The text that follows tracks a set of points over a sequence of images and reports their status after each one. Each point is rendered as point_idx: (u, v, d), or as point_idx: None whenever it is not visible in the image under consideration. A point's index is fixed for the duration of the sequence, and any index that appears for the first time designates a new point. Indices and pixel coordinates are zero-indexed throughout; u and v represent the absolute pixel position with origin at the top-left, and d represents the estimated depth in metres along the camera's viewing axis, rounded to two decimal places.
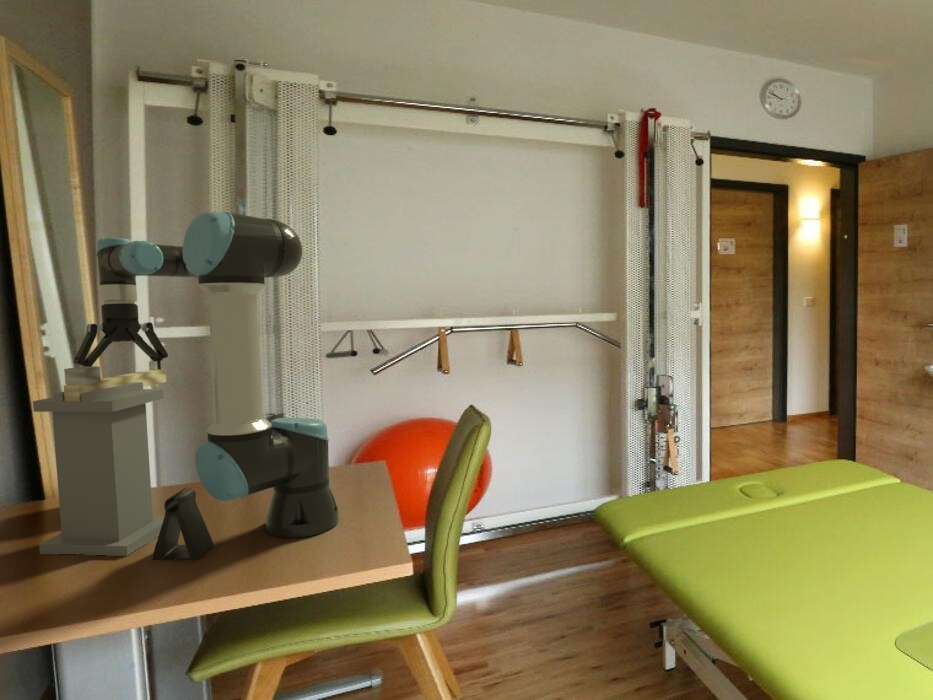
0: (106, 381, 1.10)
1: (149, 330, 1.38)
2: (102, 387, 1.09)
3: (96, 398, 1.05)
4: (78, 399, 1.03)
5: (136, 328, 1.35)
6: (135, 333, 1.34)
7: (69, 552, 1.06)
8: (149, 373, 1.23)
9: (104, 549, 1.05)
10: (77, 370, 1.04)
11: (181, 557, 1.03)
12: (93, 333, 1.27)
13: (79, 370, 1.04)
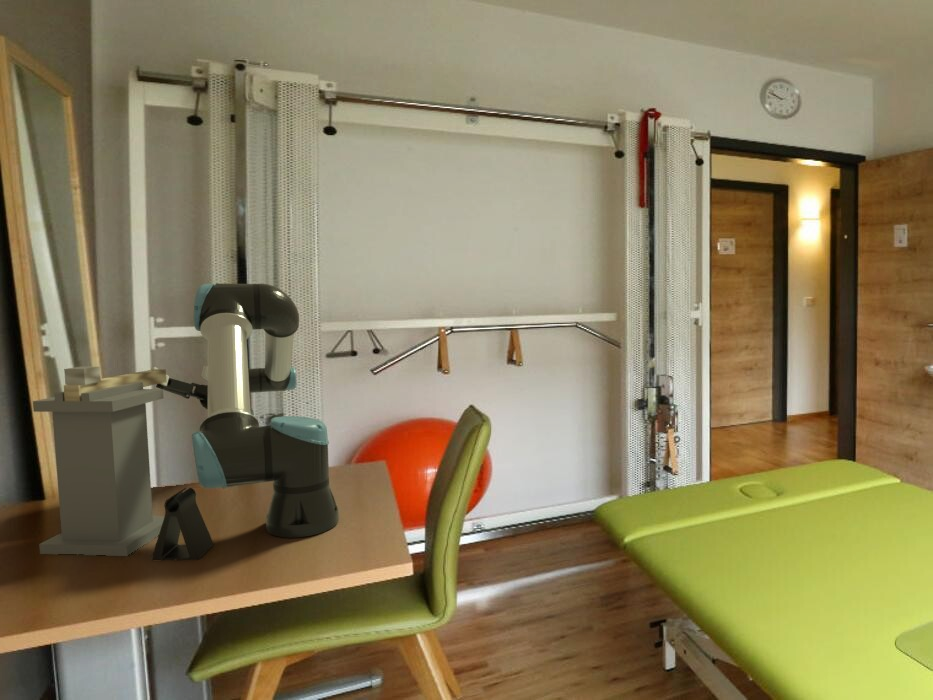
0: (106, 381, 1.10)
1: None
2: (102, 387, 1.09)
3: (96, 398, 1.05)
4: (78, 399, 1.03)
5: None
6: None
7: (69, 552, 1.06)
8: (149, 373, 1.23)
9: (104, 549, 1.05)
10: (77, 370, 1.04)
11: (181, 557, 1.03)
12: None
13: (79, 370, 1.04)
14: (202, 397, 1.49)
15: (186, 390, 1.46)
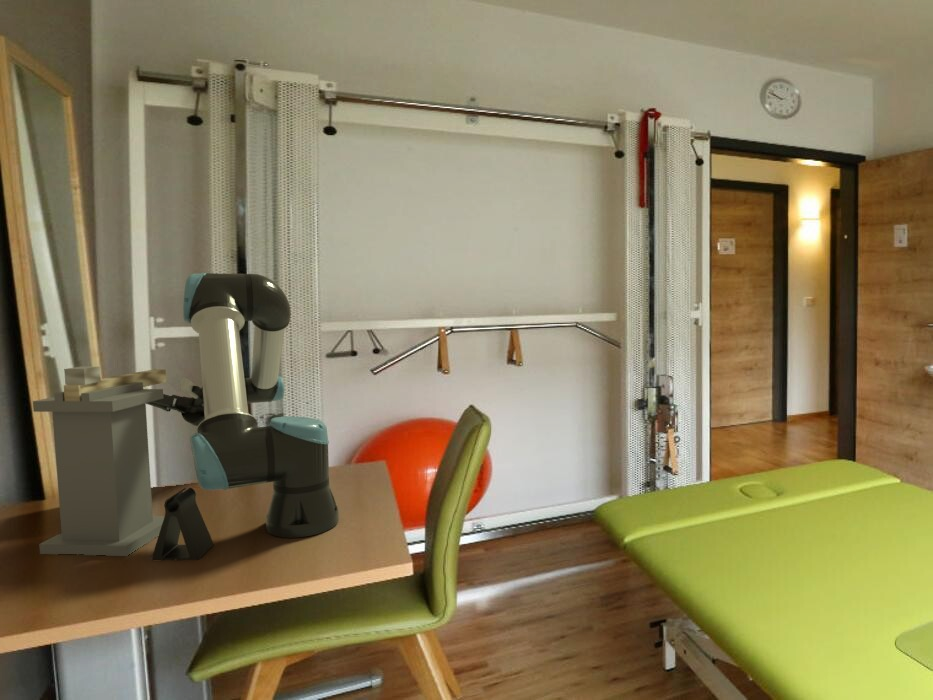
0: (106, 381, 1.10)
1: None
2: (102, 387, 1.09)
3: (96, 398, 1.05)
4: (78, 399, 1.03)
5: None
6: None
7: (69, 552, 1.06)
8: (149, 373, 1.23)
9: (104, 549, 1.05)
10: (77, 370, 1.04)
11: (181, 557, 1.03)
12: None
13: (79, 370, 1.04)
14: (183, 410, 1.40)
15: (166, 403, 1.38)
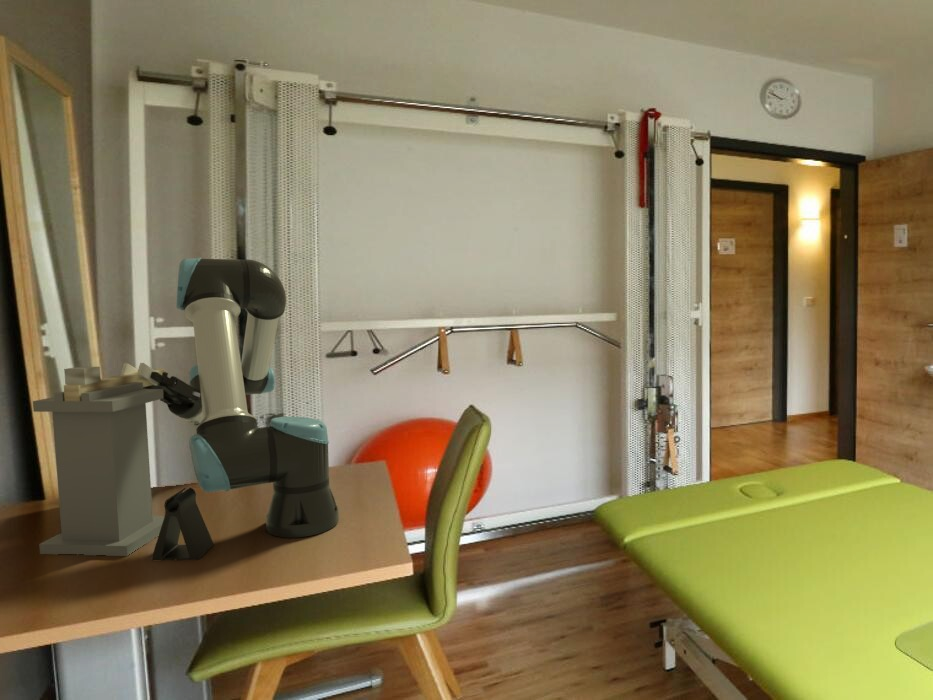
0: (106, 381, 1.10)
1: None
2: (102, 387, 1.09)
3: (96, 398, 1.05)
4: (78, 399, 1.03)
5: None
6: None
7: (69, 552, 1.06)
8: None
9: (104, 549, 1.05)
10: (77, 370, 1.04)
11: (181, 557, 1.03)
12: None
13: (79, 370, 1.04)
14: (171, 402, 1.34)
15: None
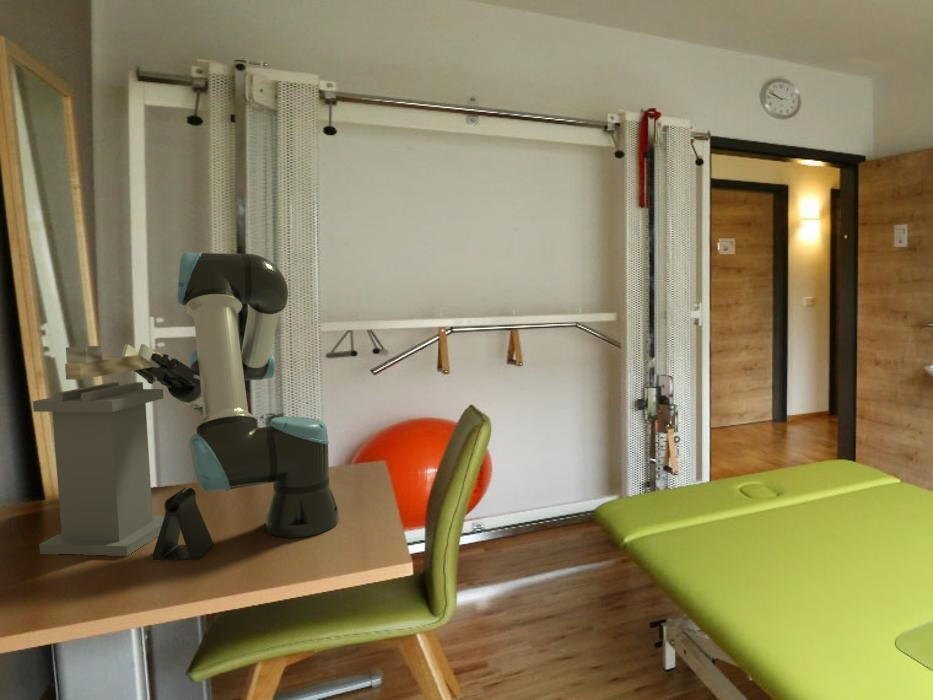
0: (107, 361, 1.10)
1: None
2: (103, 366, 1.09)
3: (96, 398, 1.05)
4: (79, 377, 1.04)
5: None
6: None
7: (69, 552, 1.06)
8: None
9: (104, 549, 1.05)
10: (78, 348, 1.04)
11: (181, 557, 1.03)
12: None
13: (80, 348, 1.04)
14: (171, 385, 1.35)
15: (159, 375, 1.31)
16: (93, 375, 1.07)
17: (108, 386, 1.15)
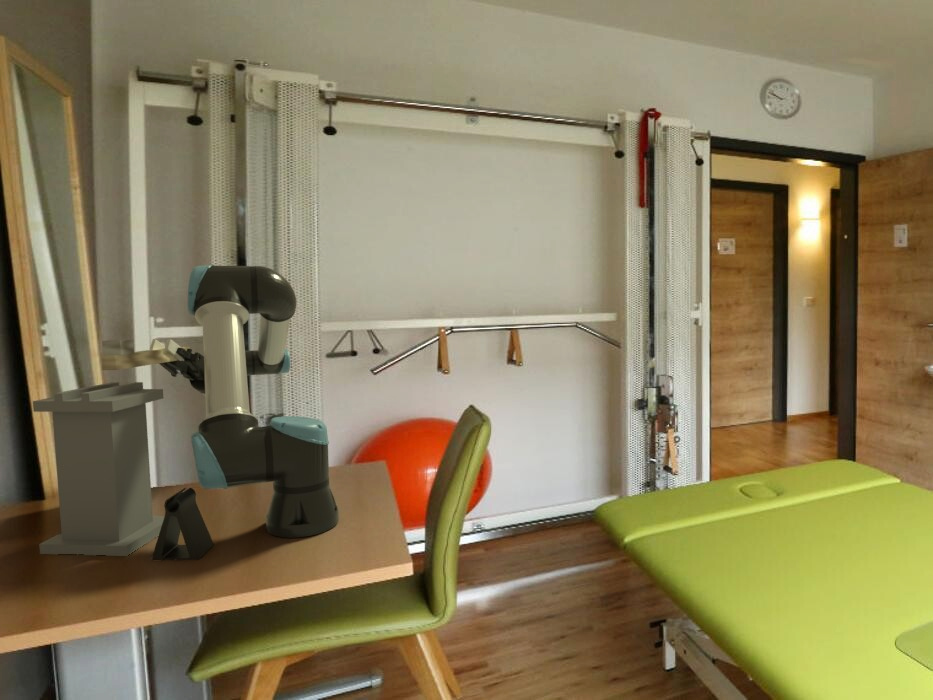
0: (138, 353, 1.20)
1: None
2: (135, 359, 1.19)
3: (96, 398, 1.05)
4: (115, 368, 1.13)
5: None
6: None
7: (69, 552, 1.06)
8: None
9: (104, 549, 1.05)
10: (114, 342, 1.13)
11: (181, 557, 1.03)
12: None
13: (115, 342, 1.13)
14: (193, 378, 1.44)
15: (182, 368, 1.40)
16: (126, 366, 1.16)
17: (108, 386, 1.15)
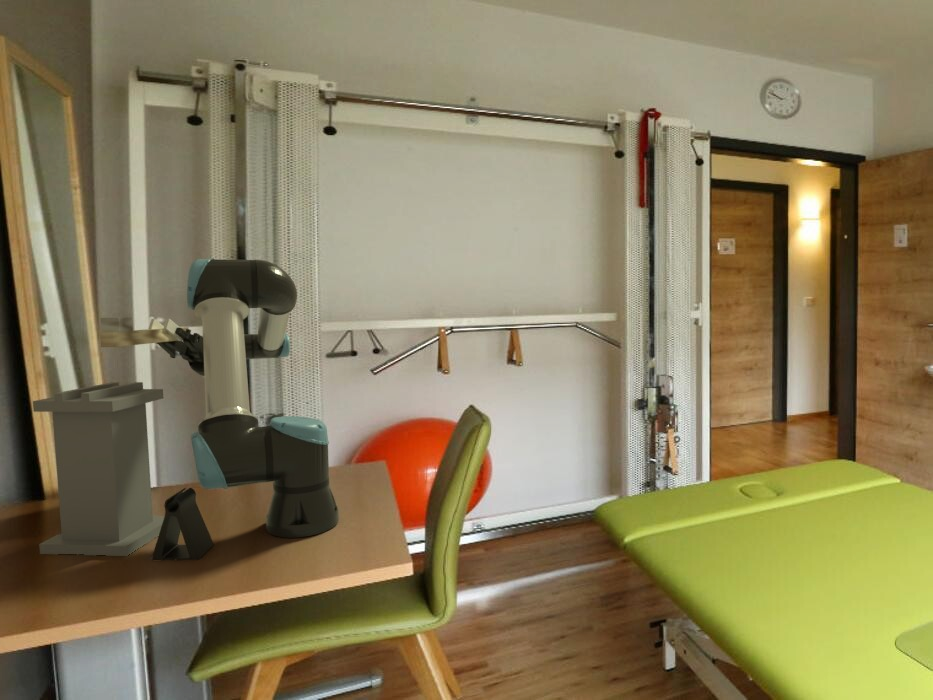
0: (137, 331, 1.19)
1: None
2: (134, 337, 1.18)
3: (96, 398, 1.05)
4: (113, 345, 1.12)
5: None
6: None
7: (69, 552, 1.06)
8: None
9: (104, 549, 1.05)
10: (112, 319, 1.13)
11: (181, 557, 1.03)
12: None
13: (114, 319, 1.13)
14: (192, 359, 1.43)
15: (181, 349, 1.40)
16: (125, 344, 1.15)
17: (108, 386, 1.15)
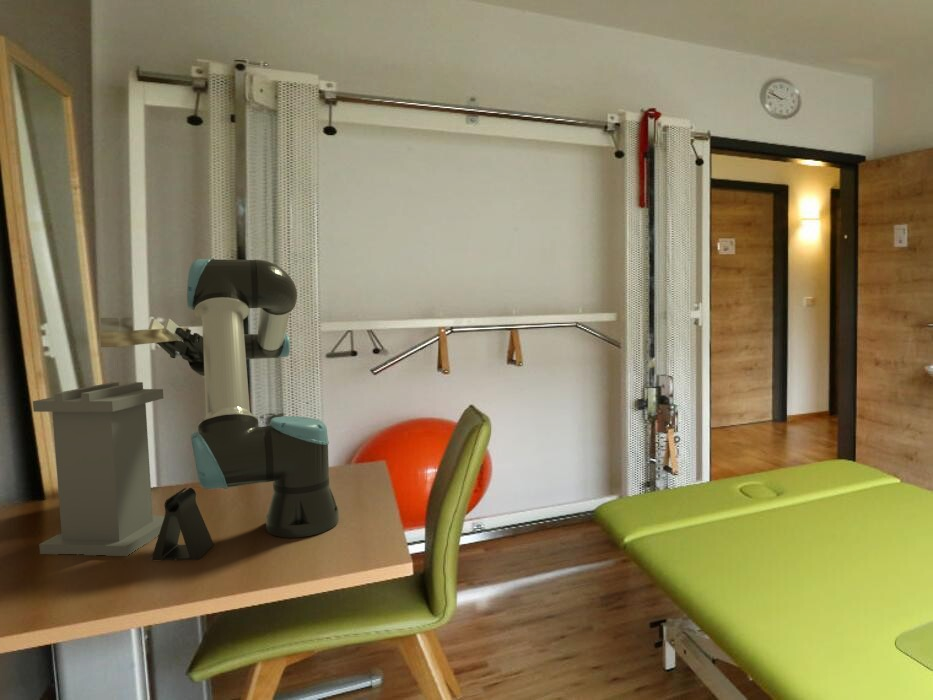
0: (137, 331, 1.19)
1: None
2: (134, 337, 1.18)
3: (96, 398, 1.05)
4: (113, 345, 1.12)
5: None
6: None
7: (69, 552, 1.06)
8: None
9: (104, 549, 1.05)
10: (112, 319, 1.13)
11: (181, 557, 1.03)
12: None
13: (114, 319, 1.13)
14: (192, 359, 1.43)
15: (181, 349, 1.40)
16: (125, 344, 1.15)
17: (108, 386, 1.15)
